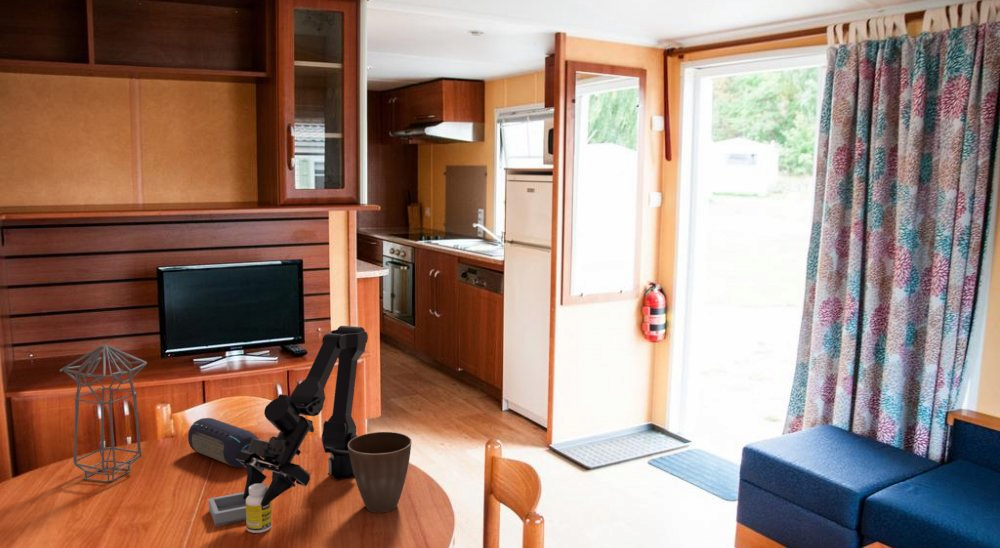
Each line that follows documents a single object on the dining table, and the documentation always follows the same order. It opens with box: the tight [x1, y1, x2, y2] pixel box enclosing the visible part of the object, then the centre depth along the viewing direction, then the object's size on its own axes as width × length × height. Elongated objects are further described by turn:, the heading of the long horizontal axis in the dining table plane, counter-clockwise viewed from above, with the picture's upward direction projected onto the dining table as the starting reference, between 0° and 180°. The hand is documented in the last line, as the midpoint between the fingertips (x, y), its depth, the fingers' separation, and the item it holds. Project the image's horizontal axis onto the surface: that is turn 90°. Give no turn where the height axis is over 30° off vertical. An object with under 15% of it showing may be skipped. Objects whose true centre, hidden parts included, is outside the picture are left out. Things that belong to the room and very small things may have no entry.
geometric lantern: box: [59, 344, 148, 483], centre depth 202 cm, size 16×16×35 cm
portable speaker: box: [187, 417, 260, 468], centre depth 215 cm, size 25×10×10 cm, turn 53°
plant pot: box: [348, 431, 413, 514], centre depth 185 cm, size 15×15×16 cm
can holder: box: [208, 491, 246, 527], centre depth 181 cm, size 9×9×3 cm
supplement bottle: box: [245, 482, 273, 534], centre depth 174 cm, size 5×5×10 cm
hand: (253, 502), depth 172 cm, fingers closed on supplement bottle, 5 cm apart
